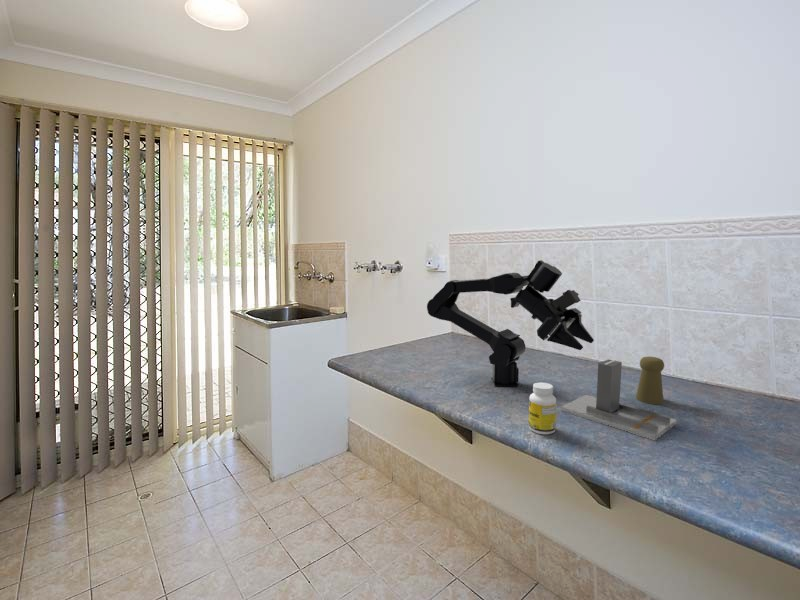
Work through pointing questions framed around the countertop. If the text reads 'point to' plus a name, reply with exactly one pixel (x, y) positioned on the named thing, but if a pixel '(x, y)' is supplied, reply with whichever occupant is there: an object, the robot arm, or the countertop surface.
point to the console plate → (622, 417)
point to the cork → (650, 381)
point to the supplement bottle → (542, 409)
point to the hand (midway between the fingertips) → (587, 345)
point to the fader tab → (608, 385)
